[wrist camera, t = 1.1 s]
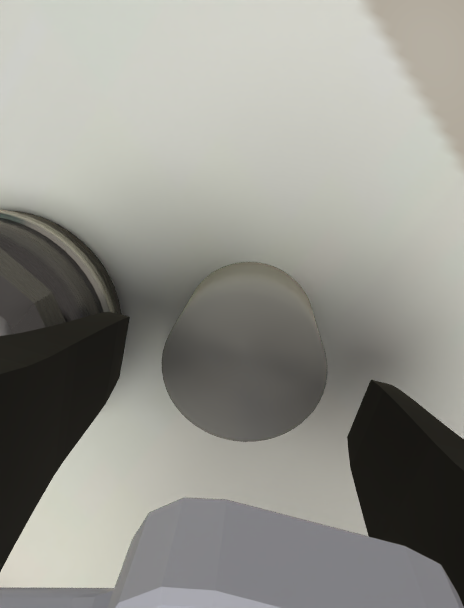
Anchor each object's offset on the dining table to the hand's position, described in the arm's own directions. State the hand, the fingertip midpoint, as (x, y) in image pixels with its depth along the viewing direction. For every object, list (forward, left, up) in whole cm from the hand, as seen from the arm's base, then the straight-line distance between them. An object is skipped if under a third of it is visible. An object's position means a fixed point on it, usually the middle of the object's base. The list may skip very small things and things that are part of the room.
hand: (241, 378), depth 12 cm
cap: (0, 0, -5) cm, 5 cm away
